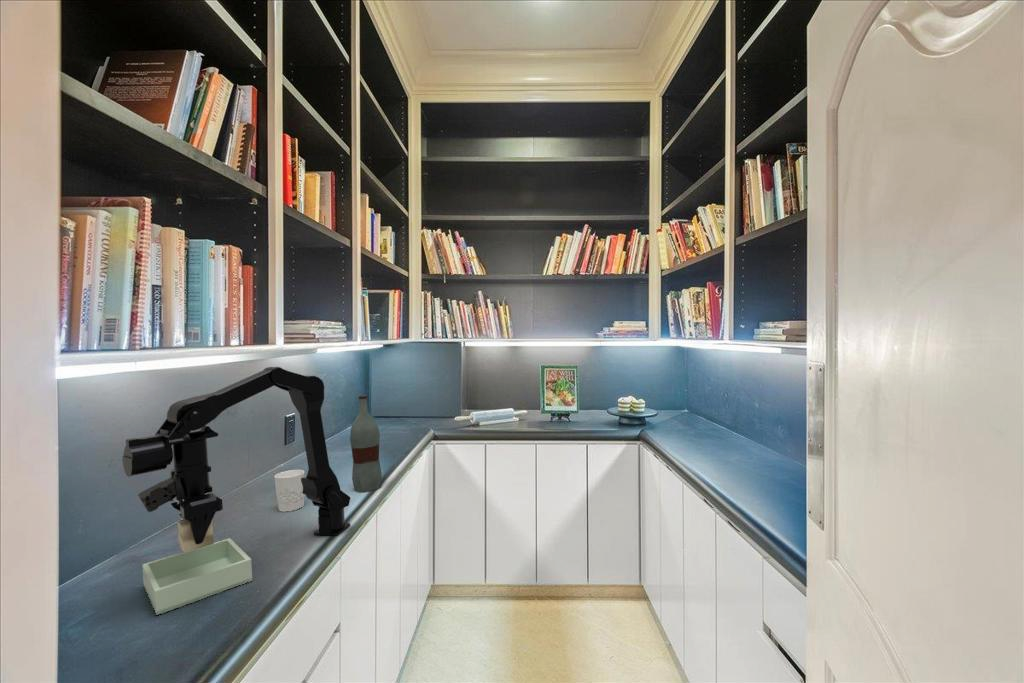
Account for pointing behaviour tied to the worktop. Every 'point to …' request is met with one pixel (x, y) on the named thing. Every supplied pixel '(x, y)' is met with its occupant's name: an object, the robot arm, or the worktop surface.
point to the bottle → (365, 450)
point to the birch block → (187, 537)
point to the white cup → (289, 490)
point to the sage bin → (195, 574)
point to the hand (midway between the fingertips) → (196, 539)
